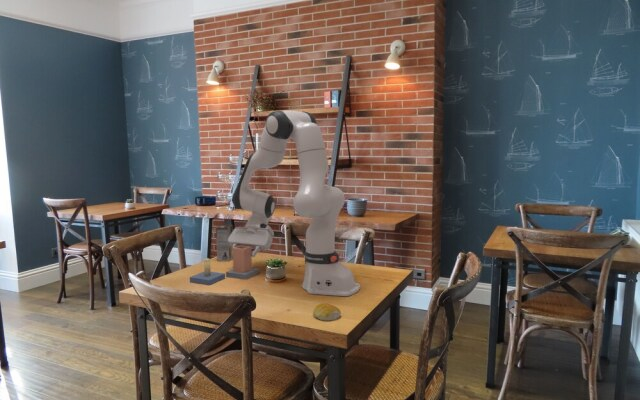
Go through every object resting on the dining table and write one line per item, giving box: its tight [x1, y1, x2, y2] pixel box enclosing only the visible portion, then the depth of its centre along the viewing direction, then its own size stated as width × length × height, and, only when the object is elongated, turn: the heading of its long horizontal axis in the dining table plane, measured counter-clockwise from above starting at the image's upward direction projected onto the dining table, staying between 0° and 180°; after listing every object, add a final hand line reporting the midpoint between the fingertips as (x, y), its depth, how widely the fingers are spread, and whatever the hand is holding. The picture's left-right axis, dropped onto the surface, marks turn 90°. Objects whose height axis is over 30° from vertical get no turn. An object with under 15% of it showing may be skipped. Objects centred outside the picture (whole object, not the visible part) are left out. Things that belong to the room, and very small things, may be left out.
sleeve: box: [232, 245, 253, 273], centre depth 190 cm, size 6×6×10 cm
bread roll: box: [312, 302, 341, 322], centre depth 145 cm, size 8×9×4 cm
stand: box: [225, 267, 260, 280], centre depth 190 cm, size 10×10×10 cm
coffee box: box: [215, 224, 234, 262], centre depth 216 cm, size 9×6×16 cm
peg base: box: [189, 257, 226, 286], centre depth 183 cm, size 10×10×9 cm
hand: (243, 254), depth 190 cm, fingers open, 8 cm apart
